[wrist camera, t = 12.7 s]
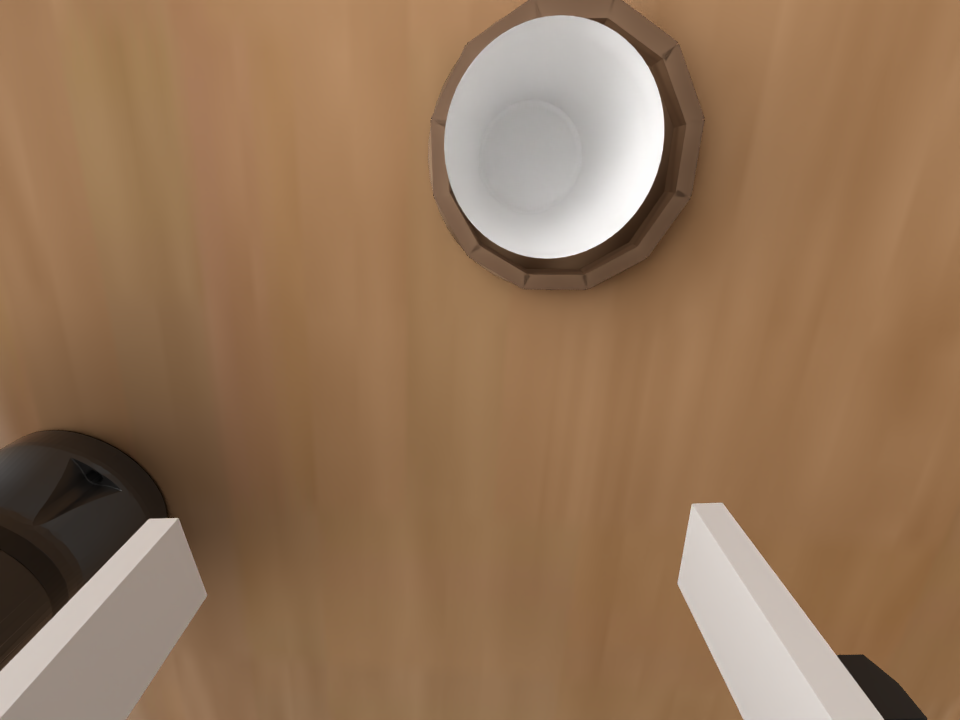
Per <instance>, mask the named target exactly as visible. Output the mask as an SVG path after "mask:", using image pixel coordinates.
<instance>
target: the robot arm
mask: <svg viewBox="0 0 960 720" xmlns="http://www.w3.org/2000/svg"><path fill="white" fill-rule="evenodd" d="M677 584H678V586H679V588H680V590H681V592H682V594H683V596H684V598H685V600H686V602H687V604H688V606H689V608H690V610H691V613H692V615H693V617H694V619H695V621H696V623H697V625H698V627H699V629H700V631H701V633H702V635H703V637H704V639H705V641H706V643H707V645H708V647H709V650H710V652H711V654H712V656H713V658H714V660H715V662H716V664H717V666H718V668H719V670H720V672H721V674H722V676H723V678H724V680H725V682H726V684H727V687H728V689H729V691H730V693H731V695H732V697H733V699H734V701H735V703H736V705H737V707H738V709H739V711H740V713H741V715H742V717H743V719H744V720H927V717H926V716H925V715H924V714H923V713H922V711H921V710H920V709H919V708H918V707H917V705H916V704H915V703H914V702H913V701H912V699H911V698H910V697H909V696H908V694H907V693H906V692H905V691H904V690H903V688H902V687H901V686H900V685H899V684H898V683H897V682H896V681H895V680H894V679H892V678H891V677H890V676H889V675H887V674H886V673H885V672H884V671H883V670H881V669H880V668H879V667H878V666H876V665H875V664H874V663H873V662H872V661H870V660H869V659H868V658H867V657H865V656H864V655H836V654H835V653H834V652H833V650H832V649H831V648H830V646H829V645H828V644H827V642H826V641H825V640H824V638H823V637H822V636H821V634H820V633H819V632H818V630H817V629H816V627H815V626H814V625H813V623H812V622H811V621H810V619H809V618H808V617H807V615H806V614H805V613H804V611H803V610H802V609H801V607H800V606H799V605H798V603H797V602H796V601H795V599H794V598H793V597H792V595H791V594H790V593H789V591H788V590H787V589H786V587H785V586H784V585H783V583H782V582H781V581H780V579H779V578H778V577H777V575H776V574H775V573H774V571H773V570H772V569H771V567H770V566H769V565H768V563H767V562H766V561H765V559H764V558H763V556H762V555H761V554H760V552H759V551H758V550H757V548H756V547H755V546H754V544H753V543H752V542H751V540H750V539H749V538H748V536H747V535H746V534H745V532H744V531H743V530H742V528H741V527H740V526H739V524H738V523H737V522H736V520H735V519H734V518H733V516H732V515H731V514H730V512H729V511H728V510H727V508H726V507H725V506H724V504H723V503H697V504H692V506H691V511H690V517H689V523H688V528H687V534H686V539H685V545H684V550H683V556H682V561H681V567H680V572H679V578H678V583H677ZM206 597H207V593H206V591H205V588H204V585H203V583H202V580H201V577H200V574H199V572H198V569H197V566H196V564H195V561H194V558H193V556H192V553H191V550H190V548H189V545H188V542H187V539H186V537H185V534H184V531H183V529H182V526H181V523H180V521H179V518H167V512H166V507H165V503H164V500H163V498H162V496H161V493H160V491H159V490H158V488H157V486H156V485H155V483H154V482H153V480H152V479H151V478H150V477H149V475H148V474H147V473H146V472H145V471H144V470H143V469H142V468H141V467H140V466H139V465H138V464H137V463H136V462H134V461H133V460H132V459H131V458H129V457H128V456H127V455H125V454H124V453H122V452H121V451H119V450H118V449H116V448H114V447H112V446H110V445H109V444H106V443H104V442H102V441H100V440H97V439H95V438H92V437H89V436H86V435H82V434H78V433H74V432H68V431H41V432H36V433H32V434H29V435H26V436H24V437H22V438H20V439H18V440H16V441H14V442H13V443H11V444H9V445H7V446H5V447H4V448H2V449H0V720H126V719H127V717H128V716H129V714H130V713H131V711H132V710H133V708H134V707H135V705H136V704H137V702H138V701H139V699H140V697H141V696H142V694H143V693H144V691H145V690H146V688H147V687H148V685H149V684H150V682H151V681H152V679H153V678H154V676H155V675H156V673H157V672H158V670H159V669H160V667H161V665H162V664H163V662H164V661H165V659H166V658H167V656H168V655H169V653H170V652H171V650H172V649H173V647H174V646H175V644H176V643H177V641H178V640H179V638H180V636H181V635H182V633H183V632H184V630H185V629H186V627H187V626H188V624H189V623H190V621H191V620H192V618H193V617H194V615H195V614H196V612H197V611H198V609H199V608H200V606H201V604H202V603H203V601H204V600H205V598H206Z"/></svg>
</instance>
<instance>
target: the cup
mask: <svg viewBox="0 0 960 720" xmlns="http://www.w3.org/2000/svg"><path fill="white" fill-rule="evenodd" d="M663 143H664V114H663V108H662V102H661V98H660V94H659V91H658V87H657V85H656V82H655V80H654V77H653V75H652V73H651V71H650V69H649V67H648V66H647V64H646V63H645V61H644V60H643V58H642V57H641V55H640V54H639V53H638V52H637V50H636V49H635V48H634V47H633V46H632V45H631V44H630V43H629V42H628V41H627V40H626V39H625V38H623V37H622V36H621V35H619V34H618V33H617V32H615V31H614V30H612V29H610V28H608V27H607V26H605V25H603V24H600V23H598V22H596V21H593V20H589V19H586V18H582V17H576V16H565V15H557V16H546V17H541V18H536V19H533V20H530V21H526V22H524V23H522V24H519V25H517V26H515V27H513V28H511V29H509V30H508V31H506V32H504V33H503V34H501V35H500V36H498V37H497V38H496V39H494V40H493V41H492V42H491V43H490V44H488V45H487V46H486V47H485V48H484V49H483V50H482V51H481V52H480V53H479V54H478V56H477V57H476V58H475V59H474V60H473V62H472V63H471V64H470V66H469V67H468V69H467V70H466V72H465V73H464V75H463V77H462V78H461V80H460V82H459V84H458V86H457V88H456V91H455V93H454V96H453V98H452V101H451V104H450V108H449V111H448V115H447V120H446V126H445V136H444V152H445V163H446V169H447V174H448V178H449V182H450V185H451V187H452V190H453V193H454V195H455V197H456V200H457V202H458V204H459V205H460V207H461V209H462V210H463V212H464V213H465V215H466V216H467V218H468V219H469V220H470V222H471V223H472V224H473V225H474V226H475V227H476V228H477V229H478V230H479V231H480V232H481V233H482V234H483V235H484V236H485V237H487V238H488V239H489V240H491V241H492V242H494V243H495V244H497V245H498V246H500V247H502V248H504V249H506V250H508V251H511V252H514V253H516V254H519V255H523V256H527V257H533V258H545V259H548V258H561V257H567V256H571V255H576V254H578V253H581V252H584V251H587V250H589V249H591V248H593V247H595V246H597V245H599V244H601V243H603V242H604V241H606V240H607V239H609V238H610V237H611V236H613V235H614V234H615V233H616V232H618V231H619V230H620V229H621V228H622V227H623V226H624V225H625V224H626V223H627V222H628V221H629V220H630V219H631V218H632V217H633V215H634V214H635V213H636V212H637V210H638V209H639V207H640V206H641V205H642V203H643V201H644V200H645V198H646V196H647V195H648V193H649V191H650V189H651V187H652V185H653V182H654V180H655V177H656V174H657V172H658V168H659V165H660V161H661V156H662V151H663Z"/></svg>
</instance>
